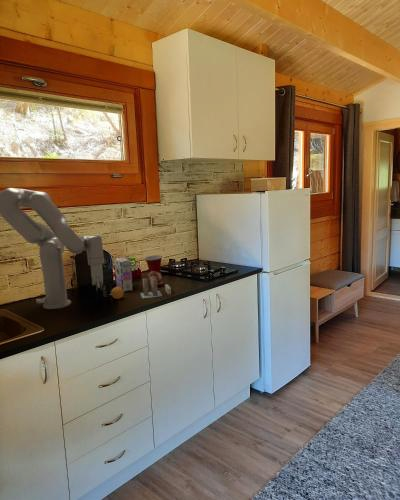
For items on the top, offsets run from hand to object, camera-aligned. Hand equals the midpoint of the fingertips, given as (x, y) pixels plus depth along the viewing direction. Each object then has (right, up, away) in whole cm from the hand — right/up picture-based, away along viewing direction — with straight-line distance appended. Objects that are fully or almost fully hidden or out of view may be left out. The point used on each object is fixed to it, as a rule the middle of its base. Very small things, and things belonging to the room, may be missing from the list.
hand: (100, 297), depth 187 cm
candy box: (+8, +2, +22) cm, 23 cm away
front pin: (+22, 0, +6) cm, 22 cm away
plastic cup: (+21, +7, +50) cm, 54 cm away
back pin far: (+25, +1, +9) cm, 27 cm away
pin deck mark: (+24, +1, +6) cm, 25 cm away
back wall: (+33, +2, +10) cm, 34 cm away
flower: (+25, +3, +24) cm, 34 cm away
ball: (+8, +2, +2) cm, 9 cm away
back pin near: (+27, 0, +4) cm, 27 cm away
